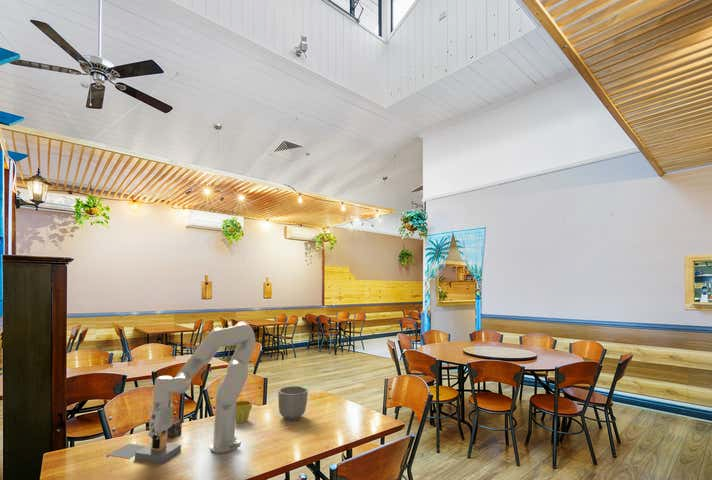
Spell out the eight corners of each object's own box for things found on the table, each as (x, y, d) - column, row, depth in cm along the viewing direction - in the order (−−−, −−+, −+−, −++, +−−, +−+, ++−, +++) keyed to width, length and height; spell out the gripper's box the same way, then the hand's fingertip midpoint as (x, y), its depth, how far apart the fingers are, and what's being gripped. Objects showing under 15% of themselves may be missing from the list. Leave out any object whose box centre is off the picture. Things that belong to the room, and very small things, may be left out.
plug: (165, 454, 167) (167, 433, 168) (159, 457, 164) (162, 436, 165) (156, 452, 168) (158, 431, 169) (150, 455, 165) (152, 434, 166)
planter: (282, 412, 225) (284, 385, 227) (310, 414, 222) (311, 386, 224) (272, 422, 208) (274, 393, 210) (302, 425, 206) (303, 395, 207)
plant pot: (234, 425, 202) (235, 407, 203) (230, 419, 211) (231, 401, 212) (252, 422, 208) (253, 404, 209) (248, 416, 216) (249, 399, 217)
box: (173, 439, 184) (174, 424, 185) (162, 438, 185) (164, 423, 186) (181, 434, 190) (182, 419, 191) (171, 433, 191) (172, 418, 192)
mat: (149, 448, 174) (149, 446, 174) (128, 459, 162) (129, 458, 163) (128, 444, 177) (128, 443, 177) (106, 456, 165) (106, 454, 165)
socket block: (180, 452, 170) (181, 444, 171) (161, 465, 159) (162, 456, 159) (155, 448, 173) (155, 441, 174) (134, 460, 162) (135, 452, 162)
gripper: (155, 411, 160) (152, 455, 158) (181, 399, 176) (178, 439, 174) (141, 409, 161) (137, 453, 159) (168, 397, 177) (165, 437, 175)
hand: (159, 445), depth 167 cm, fingers closed on plug, 3 cm apart
